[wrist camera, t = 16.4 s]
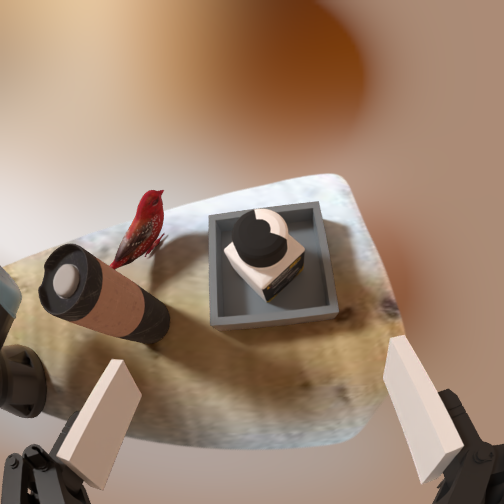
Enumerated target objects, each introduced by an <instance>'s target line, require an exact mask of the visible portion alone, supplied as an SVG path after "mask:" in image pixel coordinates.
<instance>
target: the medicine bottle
mask: <svg viewBox="0 0 504 504" xmlns="http://www.w3.org/2000/svg"><path fill="white" fill-rule="evenodd" d="M232 241H233V242H232V243H231V244H229V245H228V246H227V247H226V248H225V249H224V252H225V254H226V256H227V258H228V259H229V261H230V263H231V265H232V266H233V268H234V270H235V271H236V272H237V273H238V274H239V275H240V276H241V277H242V278H243V279H244V281H245V282H246V283H247V284H248V285H249V286H250V287H251V288H252V289H253V290H254V291H255V292H256V293H257V294H258V295H259V296H260V297H261V298H262V299H263V300H264V301H265V302H267V303H268V302H270V301H271V300H272V299H273V298H274V297H275V296H276V295H277V294H278V293H280V292H281V291H282V290H283V289H284V288H285V287H286V286H287V285H288V284H289V283H290V282H291V281H292V280H293V279H294V278H295V277H296V276H297V275H298V274H299V273H300V272H301V271H302V270H303V268H304V254H305V248H304V247H303V246H302V245H301V244H300V243H298V242H297V241H296V240H295V239H294V238H293V237H292V236H290V235H289V234H288V228H287V224H286V222H285V220H284V219H283V218H282V217H281V216H280V215H279V214H278V213H276V212H274V211H272V210H268V209H255V210H251V211H249V212H247V213H245V214H243V215H242V216H241V217H240V218H239V219H238V220H237V221H236V223H235V224H234V227H233V230H232Z"/></svg>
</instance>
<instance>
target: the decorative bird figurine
mask: <svg viewBox="0 0 504 504" xmlns="http://www.w3.org/2000/svg"><path fill="white" fill-rule="evenodd" d="M163 191H164V190H160V191H155V190H150V191H148V192H146V193H145V194H144V196H143V197H142V199H141V201H140V203H139V205H138V208H137V213H136V216H135V218H134V220H133V222H132V224H131V226H130V227H129V229H128V231H127V232H126V234H125V236H124V238H123V240H122V242H121V244H120V246H119V248H118V251H117V253H116V256H115V259H114V261H113V262H112V264H111V265H110V267H111V268H113V269H114V270H115V269H117V268H119V267H121V266H124V265H127V264H130V263H131V262H133V261H134V260H135V259H137V258H138V257H140V256H141V255H143V254H144V253H146V254H145V257H146V255H147V253H148V254H149V253H150V252H151V250H153V249H154V248H155V247H156V246H157V245H158V244H159V242H160V239H161V238H162V236H163V235H164V234H165V233H164V234H163V235H162V236H161V237H160V238H159V239H157V237H158V236H159V233H160V231H161V229H162V225H163V220H164V212H163V206H162V205H163V203H162V199H161V195H162V193H163ZM156 239H157V240H156Z"/></svg>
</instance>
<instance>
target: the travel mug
mask: <svg viewBox="0 0 504 504" xmlns="http://www.w3.org/2000/svg"><path fill="white" fill-rule="evenodd" d="M44 269H45V273H44V278H43V282H42V284H41V286H40V287H39V289H38V293H39V298H40V302H41V304H42V306H43V308H44V309H45V310H46V311H47V312H48V313H50V314H52V315H53V316H56V317H59V318H61V319H64V320H67V321H69V322H72V323H75V324H77V325H80V326H83V327H86V328H89V329H92V330H95V331H98V332H101V333H104V334H107V335H110V336H114V337H118V338H122V339H126V340H131V341H136V342H140V343H147V344H151V343H155V342H157V341H159V340H161V339H162V338H163V337H164V336H165V334H166V333H167V331H168V328H169V324H170V316H169V312H168V310H167V308H166V306H165V305H164V304H163V303H162V302H161V301H159V300H158V299H156V298H155V297H154V296H152V295H151V294H149V293H148V292H147V291H145V290H144V289H142V288H141V287H140V286H138V285H137V284H136V283H134V282H133V281H131V280H130V279H128V278H126V277H125V276H123V275H122V274H120V273H119V272H117V271H116V270H114V269H113V268H111V267H110V266H108V265H107V264H105V263H104V262H102V261H101V260H99V259H98V258H96V257H95V256H93V255H92V254H91V253H89V252H88V251H86V250H85V249H83V248H82V247H80V246H78V245H76V244H65V245H63V246H61V247H59V248H57V249H56V250H55V251H54V252H53V253H52V254H51V255H50V256H49V258H48V259H47V261H46V262H45V265H44Z"/></svg>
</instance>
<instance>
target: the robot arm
mask: <svg viewBox="0 0 504 504" xmlns="http://www.w3.org/2000/svg"><path fill="white" fill-rule="evenodd" d="M21 300H22V295H21V291H20V289H19V287H18V286H17V284H16V283H15V281H14V280H13V279H12V278H11V277H10V275H9V274H8V273H7V272H6V271H5V270H4V269H3V268H2V267H1V266H0V408H1V409H3V410H6V411H8V412H10V413H12V414H14V415H16V416H19V417H22V418H34V417H36V416H38V415H39V414H40V413H41V411H42V409H43V407H44V404H45V399H46V380H45V375H44V370H43V367H42V364H41V362H40V360H39V358H38V356H37V355H36V353H35V352H34V351H33V350H32V349H30V348H29V347H26V346H22V345H9V346H3V344H4V342H5V339H6V337H7V334H8V332H9V330H10V328H11V325H12V323H13V321H14V319H15V318H16V313H17V310H18V308H19V306H20V303H21ZM383 380H384V382H385V385H386V387H387V390H388V392H389V395H390V397H391V399H392V402H393V405H394V407H395V410H396V413H397V415H398V418H399V421H400V423H401V426H402V429H403V432H404V434H405V437H406V440H407V443H408V446H409V449H410V451H411V454H412V457H413V460H414V463H415V466H416V470H417V473H418V476H419V479H420V482H421V484H424V483H427V482H429V481H432V480H435V479H437V478H438V477H439V476H440V475H441V474H442V473H443V474H444V477H445V478H444V480H443V481H442V482H441V483H440V484H439V485H438V487H437V488H440V489H439V491H438V493H437V496H436V497H435V500H434V501H433V503H432V504H504V444H501V445H493V446H492V445H491V444H489V443H487V442H483V441H482V440H481V439H480V437H479V435H478V433H477V431H476V429H475V427H474V425H473V424H472V422H471V420H470V418H469V416H468V414H467V413H466V411H465V409H464V407H463V406H462V403H461V402H460V400H459V398H458V396H457V395H456V394H455V393H453V392H452V391H451V390H450V389H446V390H443V391H440V392H437V391H436V389H435V387H434V385H433V384H432V382H431V380H430V378H429V376H428V374H427V373H426V371H425V369H424V367H423V366H422V364H421V362H420V360H419V359H418V357H417V355H416V353H415V352H414V350H413V349H412V347H411V345H410V343H409V342H408V340H407V338H406V337H405V335H402V336H397V337H393V338H390V341H389V348H388V354H387V359H386V365H385V370H384V375H383ZM141 397H142V394H141V393H140V391H139V389H138V387H137V385H136V383H135V382H134V380H133V378H132V376H131V374H130V372H129V370H128V368H127V366H126V364H125V362H124V360H116V359H112V360H111V361H110V363H109V364H108V366H107V368H106V369H105V371H104V373H103V374H102V376H101V377H100V379H99V381H98V382H97V384H96V386H95V387H94V389H93V391H92V392H91V394H90V396H89V398H88V399H87V401H86V403H85V404H84V406H83V408H82V410H81V411H80V412H79V411H76V412H75V413H74V414H73V415H72V416H71V417H70V418H69V419H68V421H67V423H66V425H65V427H64V428H63V430H62V433H60V435H59V437H58V439H57V441H56V442H55V444H54V446H53V448H52V450H51V452H50V453H49V455H48V454H47V453H46V452H45V451H44V450H43V449H42V448H41V447H40V446H39V445H36V444H33V445H30V446H28V447H27V448H26V449H25V450H24V452H23V455H22V456H21V455H19V454H17V453H13V454H11V455H9V456H8V458H7V459H6V462H5V467H4V476H3V484H2V497H1V504H91V503H90V501H89V498H88V495H87V492H86V490H85V488H84V486H83V485H82V483H83V481H85V482H86V483H87V484H88V485H90V486H91V487H94V488H97V489H100V490H104V487H105V485H106V482H107V480H108V477H109V474H110V472H111V469H112V467H113V464H114V462H115V459H116V457H117V454H118V452H119V449H120V446H121V444H122V442H123V439H124V437H125V434H126V432H127V430H128V427H129V425H130V422H131V420H132V418H133V415H134V413H135V411H136V408H137V406H138V404H139V401H140V399H141ZM28 488H29V489H30V490H31V494H29V493H27V492H28Z"/></svg>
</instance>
